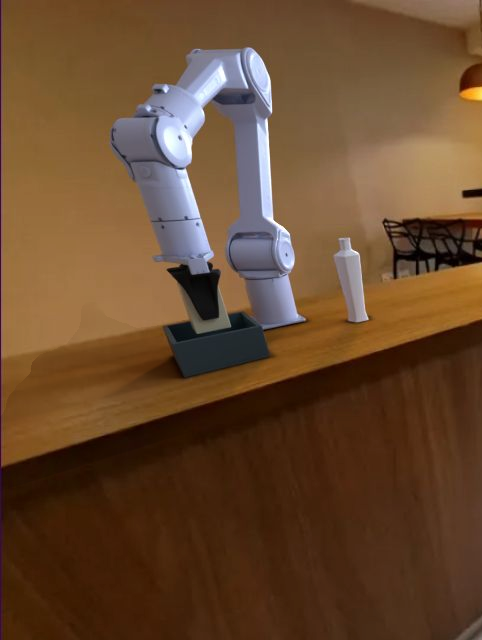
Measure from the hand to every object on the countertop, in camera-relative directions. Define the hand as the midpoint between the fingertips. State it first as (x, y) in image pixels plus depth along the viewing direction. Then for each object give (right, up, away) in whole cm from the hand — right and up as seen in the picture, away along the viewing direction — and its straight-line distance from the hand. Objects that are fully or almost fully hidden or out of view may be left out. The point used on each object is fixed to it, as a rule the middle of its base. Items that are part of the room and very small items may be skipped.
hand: (208, 315), depth 66 cm
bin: (0, -6, +3) cm, 7 cm away
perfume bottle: (+16, +2, +19) cm, 25 cm away
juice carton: (0, -2, +1) cm, 2 cm away
